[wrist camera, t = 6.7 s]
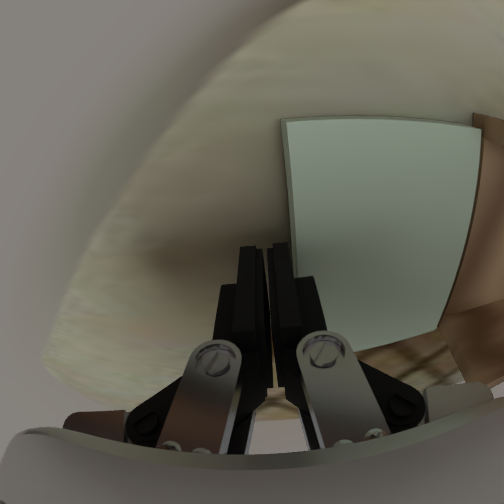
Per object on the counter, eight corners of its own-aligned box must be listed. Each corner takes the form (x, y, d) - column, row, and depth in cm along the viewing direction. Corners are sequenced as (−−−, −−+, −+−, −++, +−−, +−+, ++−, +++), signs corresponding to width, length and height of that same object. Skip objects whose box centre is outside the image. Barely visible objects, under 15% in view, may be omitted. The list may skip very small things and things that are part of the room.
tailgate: (481, 129, 7) (286, 122, 7) (435, 329, 13) (299, 362, 13) (459, 122, 8) (279, 118, 9) (424, 313, 14) (295, 340, 14)
